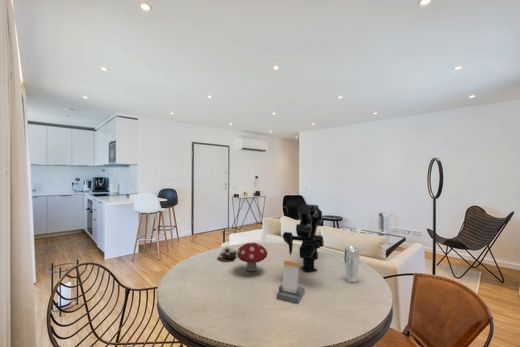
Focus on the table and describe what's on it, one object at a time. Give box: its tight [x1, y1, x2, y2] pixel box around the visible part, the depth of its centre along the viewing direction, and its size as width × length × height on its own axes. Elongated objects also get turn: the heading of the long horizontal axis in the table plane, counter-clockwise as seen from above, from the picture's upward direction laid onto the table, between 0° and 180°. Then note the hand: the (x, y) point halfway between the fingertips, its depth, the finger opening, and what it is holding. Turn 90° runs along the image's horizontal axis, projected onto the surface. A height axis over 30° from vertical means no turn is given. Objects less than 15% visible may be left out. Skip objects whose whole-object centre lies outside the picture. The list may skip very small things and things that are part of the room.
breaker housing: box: [276, 284, 306, 305], centre depth 101 cm, size 10×9×4 cm
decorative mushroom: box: [236, 242, 268, 272], centre depth 125 cm, size 16×16×15 cm
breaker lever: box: [281, 260, 300, 294], centre depth 100 cm, size 2×6×12 cm, turn 65°
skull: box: [217, 245, 239, 263], centre depth 144 cm, size 12×10×10 cm
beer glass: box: [343, 246, 360, 284], centre depth 116 cm, size 7×7×15 cm
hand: (300, 255), depth 109 cm, fingers open, 9 cm apart
